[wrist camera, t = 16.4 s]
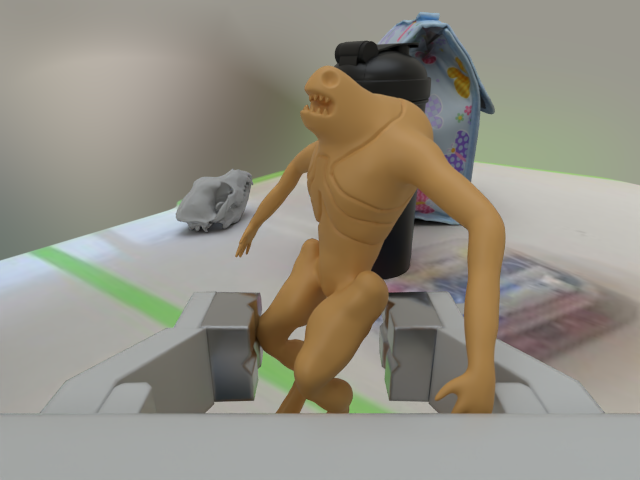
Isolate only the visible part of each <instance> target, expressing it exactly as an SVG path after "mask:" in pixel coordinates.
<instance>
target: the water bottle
mask: <svg viewBox="0 0 640 480" xmlns="http://www.w3.org/2000/svg"><path fill="white" fill-rule="evenodd" d="M410 48H419V43H395V44H375V43H374V42H372V41H355V42H345V43H341V44H339V45H338V46H337V48H336V50H335V59H336V61H337V64H336V65H335V66H334V67H335V68H338V69H339V70H341V71H343V72H344V73H346V74H347V75H348V76H349V77H351V78H352V79H353V80H354V81H355V82H356V83H358V84H359V85H360V86H361V87H363V88H364V89H366V90H368V91H369V92H371V93H373V94H381V95H386V96H391V97H396V98H401V99H405V100H407V101H410V102H412V103H413V104H415V105H416V106H418V107H419V108H420V109H421V110H422V111H423V112H424V113H425V107H426V103H427V102H428V101H429V99H428V98H429V97H430V91H431V78H430V77H427V71H426V69H425V67H424V66H423V64H422V63H421V62H420V61H419V60H417V59H416V58H414V57H412V56H410V55H409V49H410ZM417 190H418V188H417ZM417 190H416V191H415V193H414V195H413V196H412V198H411V200H410V201H409V203H408V204H407V206H406V208H405V209H404V211H403V212H402V214H401V215H400V217H399V218H398V220H397V221H396V223H395V225H394V226H393V228H392V230H391V231H390V233H389V235H388V236H387V238H386V239H385V240H384V243H383V245H382V247H381V250H380V252H379V255H378V257H377V259H376V261H375V263H374V264H373V266H372V269H371V271H372V272H374V273H376V274H377V275H379V276H380V277H381V278H382V279H387V278H392V277H396V276H399V275H401V274H403V273H404V272H406V271H407V270H408V269H409V267H410V258H411V248H412V238H413V228H414V218H415V208H416V198H417Z"/></svg>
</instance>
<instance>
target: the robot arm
mask: <svg viewBox="0 0 640 480" xmlns="http://www.w3.org/2000/svg"><path fill="white" fill-rule="evenodd" d="M388 294H389V297H388V302H387V305H386V308H385V309H384V311H383V312H382V318H383V323H382V324H381V326H380V331H379V351H380V359H381V364H382V367H383V368H384V369H385V384H386V388H387V393H388V397H389V401H420V402H429V404H430V405H431V406H432V407H433V408H434V409H435V410H436V411H437V412H438V413H205V412H206V411H207V410H209V409H210V408H211V407H212V406H213V405H214V402H223V401H254V398H255V393H256V388H257V383H258V368H260V367H261V363H262V357H263V349H262V347H261V346H260V342H259V340H258V339H257V337H256V333H255V331H256V329H257V327H258V326H259V319H260V317H261V313H262V303H261V295H260V293H245V292H216V291H215V292H194V293H193V295H192V296H191V298H190V300H189V301H188V303H187V305H186V307H185V308H184V310H183V312H182V314H181V315H180V317H179V319H178V321H177V322H176V324H175V326H174V328H166V329H164V330H162V331H160V332H158V333H156V334H154V335H153V336H151V337H149V338H147V339H145V340H143V341H141V342H139V343H137V344H135V345H133V346H132V347H130V348H128V349H126V350H124V351H122V352H120V353H118V354H116V355H114V356H113V357H111V358H109V359H107V360H105V361H103V362H101V363H99V364H97V365H95V366H93V367H92V368H90V369H88V370H86V371H84V372H82V373H80V374H78V375H76V376H74V377H72V378H71V379H69V380H67V381H66V382H65V383H64V384H63V385H62V386H61V388H60V389H59V390H58V391H57V392H56V394H55V395H54V396H53V397H52V399H51V400H50V401H49V402H48V403H47V405H46V406H45V407H44V408H43V410H42V411H41V412H40V413H5V414H0V480H640V413H605V412H604V411H603V410H602V409H601V408H600V406H599V405H598V404H597V403H596V402H595V400H594V399H593V398H592V397H591V395H590V394H589V393H588V392H587V391H586V389H585V388H584V387H583V386H582V385H581V383H580V382H579V381H577V380H575V379H573V378H571V377H569V376H568V375H566V374H564V373H562V372H560V371H558V370H556V369H554V368H552V367H550V366H548V365H546V364H545V363H543V362H541V361H539V360H537V359H535V358H533V357H531V356H529V355H527V354H525V353H523V352H522V351H520V350H518V349H516V348H514V347H512V346H510V345H508V344H506V343H504V342H502V341H500V340H499V339H497V338H496V343H495V351H494V366H495V378H496V382H495V396H494V405H493V410H492V413H451V412H452V409H453V407H454V405H455V403H456V401H457V395H456V394H454V393H451V394H448V395H447V396H445V397H444V398H442V399H441V400H439V401H435V396H436V395H437V393H438V392H439V390H440V389H441V388H442V387H443V386H444V385H445V384H446V383H448V382H449V381H451V380H452V379H454V378H456V377H459V376H461V375H462V374H464V373H465V372H466V370H467V367H468V358H467V350H466V341H465V330H464V317H463V315H462V314H461V312H460V310H459V309H458V307H457V305H456V304H455V302H454V300H453V299H452V297H451V295H450V294H449V293H448V292H446V291H444V292H398V293H388Z"/></svg>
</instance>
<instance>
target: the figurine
mask: <svg viewBox="0 0 640 480" xmlns="http://www.w3.org/2000/svg"><path fill="white" fill-rule="evenodd" d="M305 91H306V93H307V94H308V95H309V100H310V102H311V105H310V110H309V107H308V105H306V106H305V107H304V109H303V110H302V111H301V112H300V114H301V118H302V121H303V123H304V125H305V126H306V127H307V128H308V129H309V130H310V131H312V132H313V133H314V134H315V135H316V136H317V138H318V140H317V141H316V142H314V143H312V144H310V145H308V146H307V147H306V148H305V149H303V150H302V151H301V152H300V153H299V154H298V155H297V156H296V157H295V158H294V159H293V160H292V161H291V162H290V164H289V165H288V167H287V168H286V170H285V172H284V173H283V175H282V177H281V179H280V181H279V182H278V184H277V185H276V186H275V187H274V188H273V189H272V190H271V191H270V193H269V194H268V195H267V196H266V197H265V198H264V200H263V201H262V202H261V204H260V205H259V207H258V209H257V211H256V213H255V215H254V216H253V218H252V219H251V221H250V223H249V225H248V227H247V228H246V230H245V232H244V234H243V236H242V238H241V240H240V242H239V247H238V250H237V252H236V255H235V257H238V255H239V257H241V256H242V254H243V252H244V251H245V249H246V246H247V249H246V254H248V251H249V249H250V246H251V242H252V240H253V238H254V237H255V235H256V233H257V230H258V229H259V227H260V226H261V225H262V224H263V222H264V221H266V220H267V219H268V218H269V217H270V216H271V215H272V214H273V213H274V212H275V211H276V210H277V209H278V208H279V207H280V205H281V204H282V203H283V202H284V200H285V199H286V197H287V196H288V195H289V194H290V192H291V191H292V190H293V189H294V188H295V186H296V184H297V183H298V181H299V179H300V177H301V175H302V174H303V173H306V172H308V173H307V179H308V180H307V187H308V192H309V195H310V197H311V202H312V206H313V211H314V215H315V218H316V220H317V221H318V222H320V223H319V225H318V235H319V241H318V240H316V239H308V240H307V241H306V242H305V243H304V244H303V246H302V248H301V251H300V254H299V256H298V258H297V259H296V261H295V264H294V266H293V269H292V272H291V274H290V276H289V278H288V279H287V280H286V282H285V283H284V285H283V286H282V288H281V289H280V291H279V293H278V294H277V296H276V297H275V299H274V300H273V302H272V304H271V305H270V307H269V308H268V309H267V310H266V312H265V313H264V314H262V315H261V317H260V319H259V326H258V327H257V329H256V331H255V333H256V337H257V339H258V340H259V342H260V346H261V347H262V349H263V350H264V351H265V352H266V353H268V354H269V355H271V356H273V357H274V358H276V359H277V360H278V361H280V362H281V363H282V364H283V365H284V366H286V367H287V368H289V369H291V370H293V371H294V377H295V381H294V384H293V386H292V388H291V389H290V391H289V393H288V395H287V396H286V398H285V399H284V401H283V402H282V404H281V406H280V407H279V409H278V411H277V412H276V413H300V411H301V409H302V407H303V405H304V402H305V400H306V399H308V400H310V401H313V402H315V403H316V404H318V405H319V406H320V407H322V408H323V409H325V410H327V411H328V412H327V413H349V405H350V404H351V401H352V398H353V392H352V388H351V386H350V385H349V384H348V383H347V382H346V381H344V380H342V379H338V378H334V377H335V376H336V375H337V374H338V373H339V372H340V371H341V370H342V369H343V368H344V367H345V366H346V365H347V364H348V363H349V362H350V360H351V359H352V357H353V356H354V354H355V353H356V351H357V349H358V348H359V346H360V344H361V343H362V341H363V340H364V338H365V337H366V336H367V335H368V333H369V331H370V329H371V327H372V325H373V323H374V322H375V321H376V320H377V318H378V317H379V316H380V315H381V314H382V312H383V311H384V309H385V308H386V305H387V302H388V297H389V294H388V288H387V285H386V283H385V282H384V280H383V279H382V278H381V277H380V276H379V275H377V274H376V273H374V272H372V271H371V269H372V266H373V264H374V263H375V261H376V259H377V257H378V255H379V252H380V250H381V247H382V245H383V243H384V240H385V239H386V238H387V236H388V235H389V233H390V231H391V230H392V228H393V226H394V225H395V223H396V221H397V220H398V218H399V217H400V215H401V214H402V212H403V211H404V209H405V208H406V206H407V204H408V203H409V201H410V200H411V198H412V196H413V195H414V193H415V191H416V190H417V188H418V189H419V190H420V191H422V192H423V193H424V194H425V195H426V196H427V197H428V198H429V199H430V200H432V201H433V202H434V203H435V204H436V205H437V206H438V207H440V208H441V209H442V210H443V211H444V212H445V213H447V214H448V215H449V216H450V217H451V218H453V219H454V220H455V221H456V222H458V223H459V224H461V225H462V226H463V227H465V228H466V229H467V230H468V231H469V243H468V284H467V290H466V296H465V308H464V330H465V341H466V350H467V358H468V367H467V370H466V372H465V373H464V374H462V375H461V376H459V377H456V378H454V379H452V380H451V381H449V382H448V383H446V384H445V385H444V386H443V387H442V388H441V389H440V390H439V392H438V393H437V395H436V396H435V401H439V400H441V399H442V398H444V397H445V396H447V395H448V394H451V393H454V394H456V395H457V401H456V403H455V405H454V407H453V409H452V412H451V413H492V410H493V405H494V396H495V382H496V378H495V366H494V351H495V343H496V337H497V332H498V325H499V299H500V272H501V266H502V260H503V255H504V249H505V227H504V223H503V220H502V218H501V217H500V215H499V213H498V212H497V210H496V209H495V208H494V206H493V205H492V204H491V203H490V201H489V200H488V199H487V198H486V197H485V196H484V195H483V194H482V193H481V192H480V191H479V190H478V189H477V188H476V187H475V186H474V185H473V184H472V183H471V182H470V181H469V180H468V179H467V178H465V177H464V176H463V175H462V174H460V173H459V172H458V171H457V170H455V169H454V168H453V167H452V166H451V165H450V164H449V162H448V161H447V159H446V158H445V156H444V154H443V152H442V151H441V149H440V148H439V146H438V145H437V144H436V143H435V142H434V138H433V129H432V126H431V123H430V121H429V119H428V118H427V116H426V115H425V113H424V112H423V111H422V110H421V109H420V108H419V107H418V106H416V105H415V104H413V103H412V102H410V101H407V100H405V99H401V98H396V97H391V96H386V95H381V94H373V93H371V92H369V91H368V90H366V89H364V88H363V87H361V86H360V85H359V84H358V83H356V82H355V81H354V80H353V79H352V78H351V77H349V76H348V75H347V74H346V73H344V72H343V71H341V70H339V69H338V68H335V67H333V66H324V67H321V68H320V69H318V70H317V71H316V72H315V73H314V74H313V75H312V76H311V77H310V78H309V80H308V81H307V83H306V85H305ZM305 325H307V326H306V331H305V340H304V341H302V340H297V339H293V340H288V337H289V336H290V335H291V333H292V332H293V331H294V330H295V329H296V328H298V327H301V326H305Z"/></svg>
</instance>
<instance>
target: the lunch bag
mask: <svg viewBox="0 0 640 480" xmlns="http://www.w3.org/2000/svg"><path fill="white" fill-rule="evenodd" d="M439 16H440V14H439V13H426V12H420V13H419V14H418V15H417V17H416V19H414V20H403V21H401V22H400V23H397V24H396V26H394V27H393V28H392V29H391V30H390V31H388V33H387V34H386V35H385V36H384V37H383V38H382V39H381V40H380V42H379V43H378V44H395V43H419V48H410V49H409V55H410V56H412V57H414V58H416V59H417V60H419V61H420V62H421V63H422V64H423V66H424V67H425V69H426V71H427V77H430V78H431V91H430V97H429V98H428V99H429V101H428V102H427V103H426V107H425V115H426V116H427V118H428V119H429V121H430V123H431V126H432V129H433V138H434V142H435V143H436V144H437V145H438V146H439V148H440V149H441V151H442V152H443V154H444V156H445V158H446V159H447V161H448V162H449V164H450V165H451V166H452V167H453V168H454V169H455V170H457V171H458V172H459V173H460V174H462V175H463V176H464V177H465V178H467V179H468V180H469V181H470V182H471V178H472V171H473V163H474V157H475V151H476V144H477V138H478V130H479V120H480V111H482V112H485V113H488V114H494V112H495V109H494V106H493V104H492V102H491V99H490V97H489V96H488V94H487V92H486V90H485V88H484V86H483V84H482V83H481V81H480V78H479V76H478V74H477V71H476V69H475V66H474V64H473V62H472V59H471V57H470V55H469V54H468V52H467V51H466V49H465V48H464V46H463V45H462V44H461V42H460V41H459V39H458V38H457V36H456V35H455V33H454V31H453V30H452V28H451V27H450V25H449V24H447V23H441V22H440V21H438V20H439ZM415 218H418V219H423V220H425V221H437V222H443V223H447V224H451V225H461V224H459V223H458V222H456V221H455V220H454V219H453V218H451V217H450V216H449V215H448V214H447V213H445V212H444V211H443V210H442V209H441V208H440V207H438V206H437V205H436V204H435V203H434V202H433V201H432V200H430V199H429V198H428V197H427V196H426V195H425V194H424V193H423V192H422V191H420V190H419V189H418V190H417V198H416V208H415ZM415 218H414V219H415Z"/></svg>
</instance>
